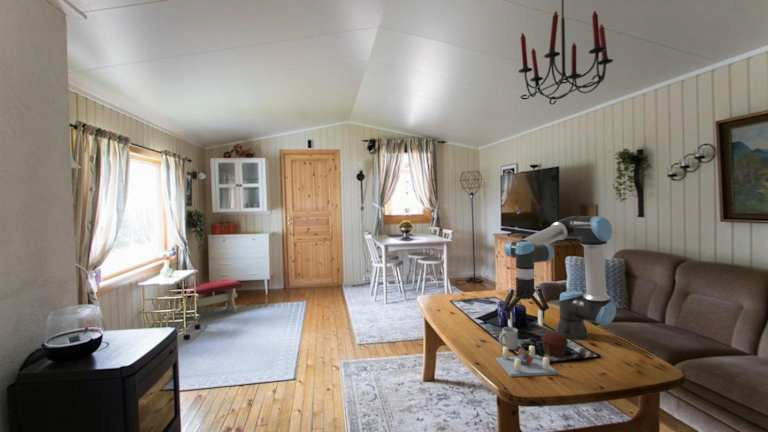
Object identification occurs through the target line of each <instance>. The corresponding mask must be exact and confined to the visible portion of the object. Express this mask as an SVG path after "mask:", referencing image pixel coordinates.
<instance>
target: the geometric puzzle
mask: <svg viewBox="0 0 768 432" xmlns="http://www.w3.org/2000/svg"><path fill="white" fill-rule="evenodd" d="M529 353H530V350H529V349H528V350H526V349H524V348H522V347H520V348H519V349H518V350H517V354H516V355H515V356H517V357H519V358H520V359H521V365H522V363H525V362H526V363H527V365H529V366H530V365H531V362H532V360H533V359H534V358H533V357H532V356H530V355H529Z"/></svg>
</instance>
